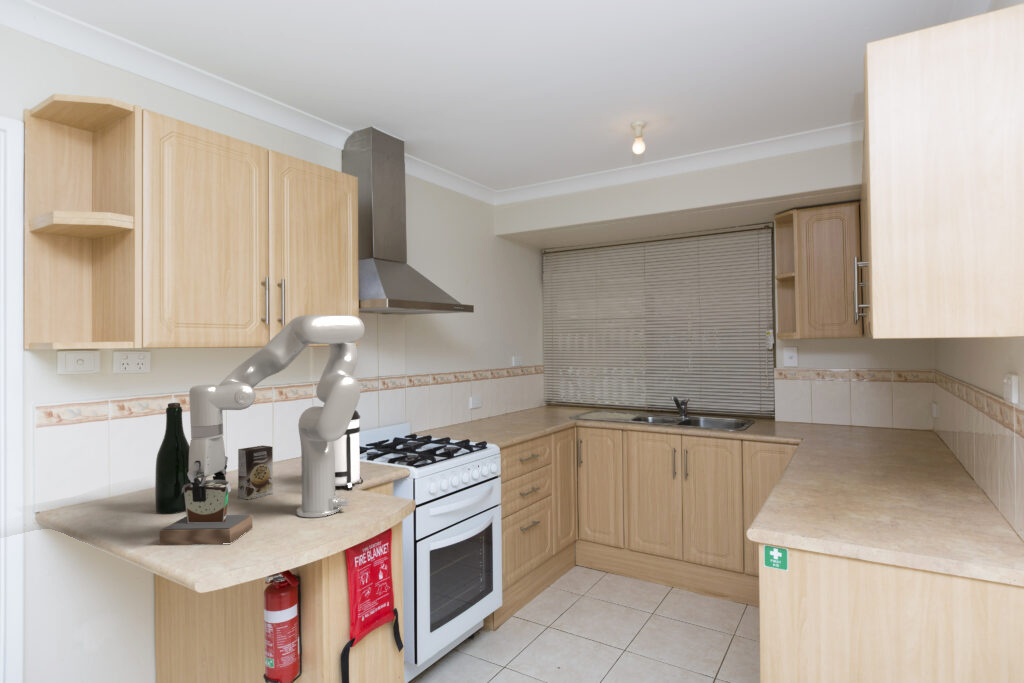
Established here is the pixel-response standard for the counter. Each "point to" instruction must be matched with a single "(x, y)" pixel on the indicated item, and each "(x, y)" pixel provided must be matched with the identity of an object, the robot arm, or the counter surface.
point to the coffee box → (255, 471)
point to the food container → (208, 503)
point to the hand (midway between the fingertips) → (210, 495)
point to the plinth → (205, 531)
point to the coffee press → (348, 455)
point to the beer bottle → (172, 464)
